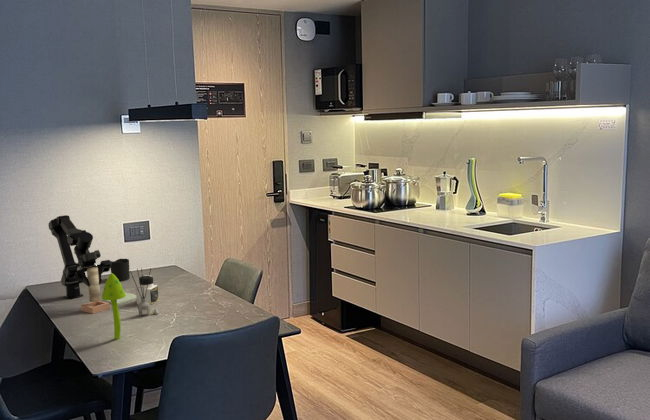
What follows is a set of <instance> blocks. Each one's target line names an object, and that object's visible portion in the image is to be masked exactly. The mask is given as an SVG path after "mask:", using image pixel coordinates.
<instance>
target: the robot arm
mask: <svg viewBox="0 0 650 420" xmlns="http://www.w3.org/2000/svg"><path fill="white" fill-rule="evenodd" d="M47 224H48V229H49V230H50V233H51V235H52V236H53V237H55V239H56V240H57V243H58V247H59V250H60V254H61V258H62V261H63V265H64V267H63V270H62V274H61V275H62V276H61V278H60V283H61V285H62V286H63V287H65V295H63V298H65V299H69V300H72V299H76V298H80V297H83V296H84V294H83V293H81V288H80V284H83V283H84V284H85V285H86V286H87V288H88V287H89V286H90V284H89V281H88V277H87V274H86V273H87V269H88V268H94V267H96V268H98V275H99V285H101V284H102V274H103V273H106V272H107V273H108V272H111V265H112V263H111V261H112V260H110V259H105V260H100V263H99V264H96V263H97V260H98V259H99V258H101V257H102V256H101V255H102V254H101V252H100V250H99V249H97V250H94V251H91V252H90V250H89V249H90V248H91V245H92V244H93V243H92V242H93V239H94V236H93V234H92V233H90V232H88V231H87V230H86V229H83V230H82V229H79V228H77V227H76V226H75V224H74V222H72V220H71V218H70V216H69V215H67V214H66V215H59V216H56V217H55V218H53V219H51V220H50V221H48V223H47ZM73 246H74V248H73V251H74V255H75V256H76V259H77V262H76V261H75V259H74V255H73V251H72V248H71V247H73Z"/></svg>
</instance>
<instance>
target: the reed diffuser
mask: <svg viewBox="0 0 650 420" xmlns="http://www.w3.org/2000/svg"><path fill="white" fill-rule="evenodd" d="M151 271H152V268H151V267H150V270H149V273H148V275H149V276H151ZM136 272H137V275H138V281H140V277H141V276H142V285H143V276H144V275H141V276H140V274H139V268H136ZM141 272H143V268H142V267H141ZM129 273H130V274H131V275H130V276H132V279H133V281H134V284H135V286H136V287H135V288H136V289H138V288H139V287H140V286H141V282H140V285H139V287H138V285H137V283H136V279H135V278H134V276H133V273H132V271H131V270H129ZM148 282H149V278H148ZM147 287H148V283H147ZM138 291H139V290H138ZM141 291H142V287H141ZM146 292H147V289H146ZM139 294H140V292H139ZM140 296H141V295H140ZM142 296H143V297H141V303H140V304H137V310H138V315H140V316H147V315H150V314H151V305H150V304H149V303H148V302H146V294H145V297H144V289H143V293H142ZM159 312H160V311H159V309H158V308H155V309H154V310H153V311H152V313H153V315H158V314H159Z"/></svg>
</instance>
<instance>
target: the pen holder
mask: <svg viewBox="0 0 650 420" xmlns="http://www.w3.org/2000/svg"><path fill="white" fill-rule="evenodd" d="M110 261H111V263H112V265H111V268H110V274H111V273H113V274H114V275H115V276H116V277H117V278H118V280H119V282H125V281H128V280H129V279H130V277H131V275H130V274H131V273H130V259H129V258H118V259H116V260H114V261H112V260H110Z"/></svg>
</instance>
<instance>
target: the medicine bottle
mask: <svg viewBox="0 0 650 420" xmlns="http://www.w3.org/2000/svg"><path fill="white" fill-rule="evenodd" d="M142 276H143V285H142ZM139 277H140V281H139V280H138V281H139V282H138V283H139V287H138V289H137V288H135V295H136V304H137V305H139V304H140V303H141V297H143V296H142V293H143V289H144V297H145V294H146V302H148V303H149V304H150V306H151V305H153V304H154V303H156V302H159V300H160V299H159V286H158V285H157V284H154V283H155V282H154V277H153V276H152V275H150V276H149V274H148V275H147V274H146V275H141V276H139ZM148 278H149V282H148ZM140 282H141V286H140ZM147 283H148V287H147ZM141 287H142V291H141ZM146 289H147V292H146ZM138 290H139V291H138ZM139 292H140V294H139ZM140 295H141V296H140Z"/></svg>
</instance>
